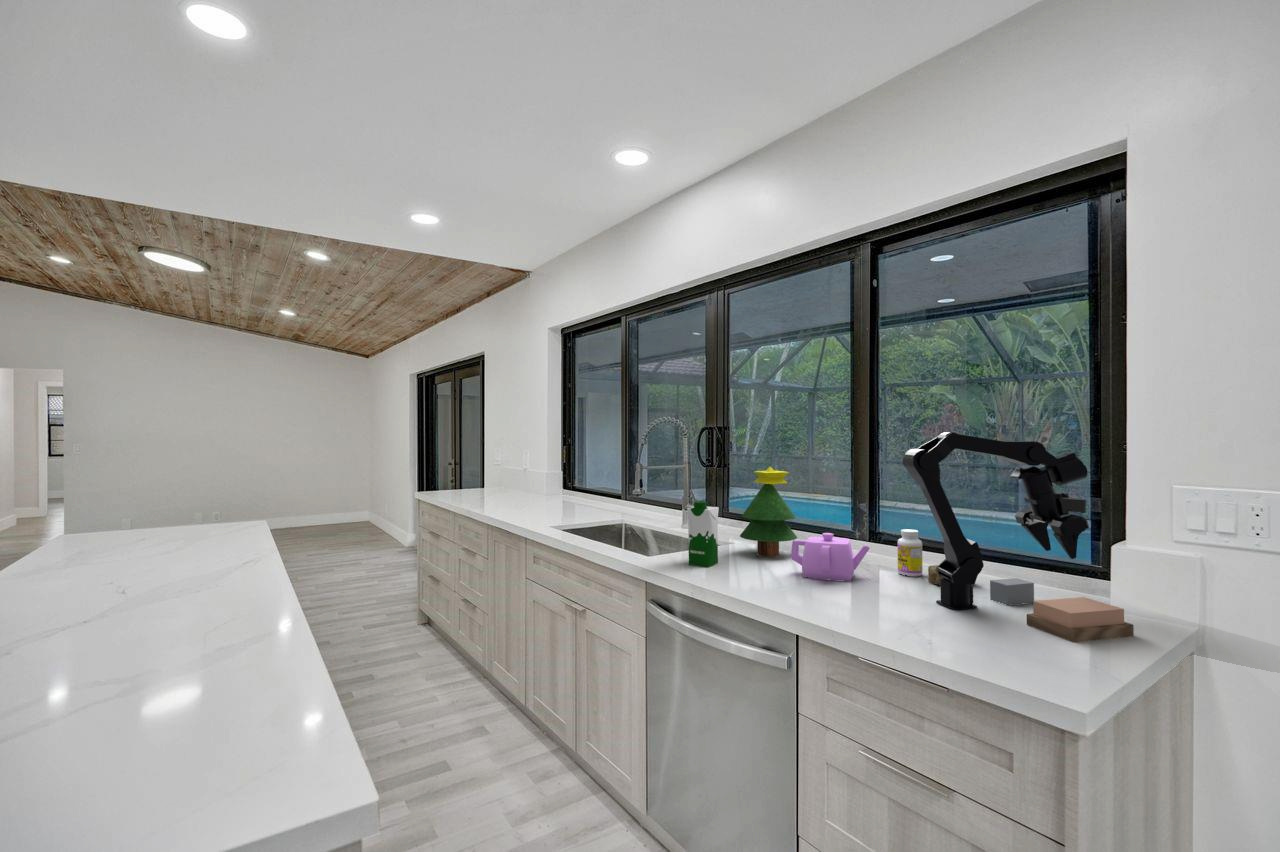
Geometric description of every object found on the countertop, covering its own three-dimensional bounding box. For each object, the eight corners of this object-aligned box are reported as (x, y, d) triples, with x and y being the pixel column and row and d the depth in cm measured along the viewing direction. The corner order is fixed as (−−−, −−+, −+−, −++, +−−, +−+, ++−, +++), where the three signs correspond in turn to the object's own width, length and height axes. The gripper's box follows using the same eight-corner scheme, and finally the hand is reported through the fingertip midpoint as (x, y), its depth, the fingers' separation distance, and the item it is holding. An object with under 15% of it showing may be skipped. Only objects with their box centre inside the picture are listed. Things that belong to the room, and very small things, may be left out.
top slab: (1071, 628, 120) (1070, 613, 120) (1033, 614, 129) (1033, 600, 129) (1124, 623, 123) (1124, 608, 123) (1083, 610, 132) (1083, 597, 132)
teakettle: (786, 572, 179) (786, 531, 179) (831, 566, 186) (830, 527, 186) (825, 585, 163) (825, 540, 163) (872, 579, 170) (872, 535, 170)
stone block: (978, 586, 162) (977, 568, 162) (936, 587, 161) (936, 569, 161) (965, 581, 168) (965, 563, 168) (925, 582, 167) (925, 564, 167)
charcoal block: (1007, 606, 144) (1006, 585, 144) (990, 600, 149) (990, 580, 149) (1034, 603, 146) (1033, 582, 146) (1016, 597, 151) (1016, 578, 151)
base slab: (1073, 645, 119) (1073, 630, 119) (1026, 627, 130) (1026, 613, 130) (1133, 639, 122) (1133, 624, 122) (1082, 622, 133) (1082, 608, 133)
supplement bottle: (893, 571, 178) (892, 528, 178) (914, 571, 179) (914, 528, 179) (905, 577, 172) (904, 532, 172) (927, 576, 172) (926, 532, 172)
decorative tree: (730, 551, 210) (729, 465, 211) (778, 547, 216) (777, 464, 216) (756, 562, 192) (756, 469, 192) (808, 558, 198) (808, 467, 198)
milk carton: (684, 565, 189) (684, 501, 189) (697, 559, 197) (697, 498, 197) (709, 568, 184) (709, 503, 184) (722, 562, 192) (721, 500, 192)
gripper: (1101, 485, 133) (1123, 552, 133) (1048, 478, 152) (1068, 537, 151) (1052, 500, 134) (1074, 567, 133) (1005, 491, 152) (1024, 550, 152)
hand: (1060, 554), depth 142 cm, fingers open, 9 cm apart
